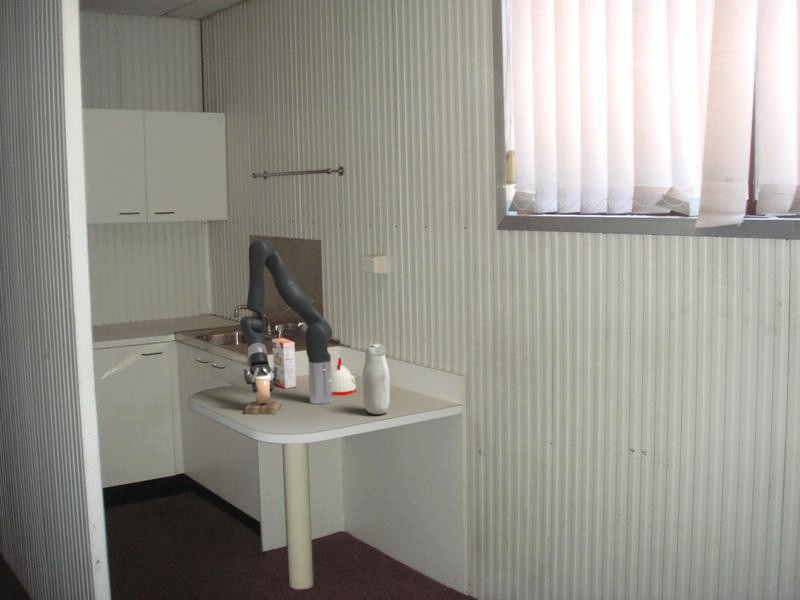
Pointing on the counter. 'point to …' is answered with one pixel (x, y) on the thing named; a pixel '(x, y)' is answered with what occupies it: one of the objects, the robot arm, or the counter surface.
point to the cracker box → (284, 362)
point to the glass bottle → (376, 380)
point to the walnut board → (263, 407)
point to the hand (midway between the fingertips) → (263, 390)
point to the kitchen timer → (342, 380)
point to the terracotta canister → (262, 388)
